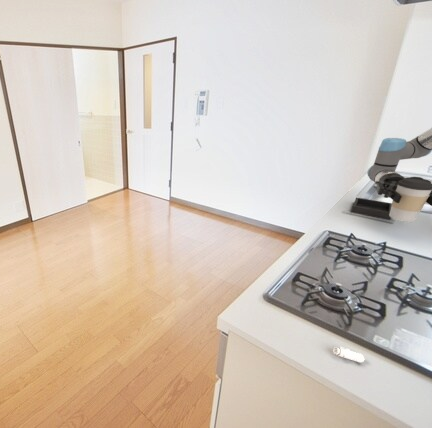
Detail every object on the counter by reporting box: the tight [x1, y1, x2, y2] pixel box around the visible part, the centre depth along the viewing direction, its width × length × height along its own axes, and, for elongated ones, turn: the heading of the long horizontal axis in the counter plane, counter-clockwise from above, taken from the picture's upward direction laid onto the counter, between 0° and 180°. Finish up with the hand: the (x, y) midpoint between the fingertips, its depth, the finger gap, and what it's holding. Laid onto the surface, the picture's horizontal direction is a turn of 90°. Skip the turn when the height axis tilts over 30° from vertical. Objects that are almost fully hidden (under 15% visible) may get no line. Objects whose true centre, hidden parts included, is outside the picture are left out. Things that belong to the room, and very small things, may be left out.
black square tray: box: [350, 196, 392, 220], centre depth 127 cm, size 13×13×3 cm
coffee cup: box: [389, 176, 432, 222], centre depth 101 cm, size 9×9×15 cm
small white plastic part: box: [332, 346, 366, 363], centre depth 62 cm, size 4×6×3 cm, turn 49°
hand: (416, 200), depth 97 cm, fingers closed on coffee cup, 9 cm apart
